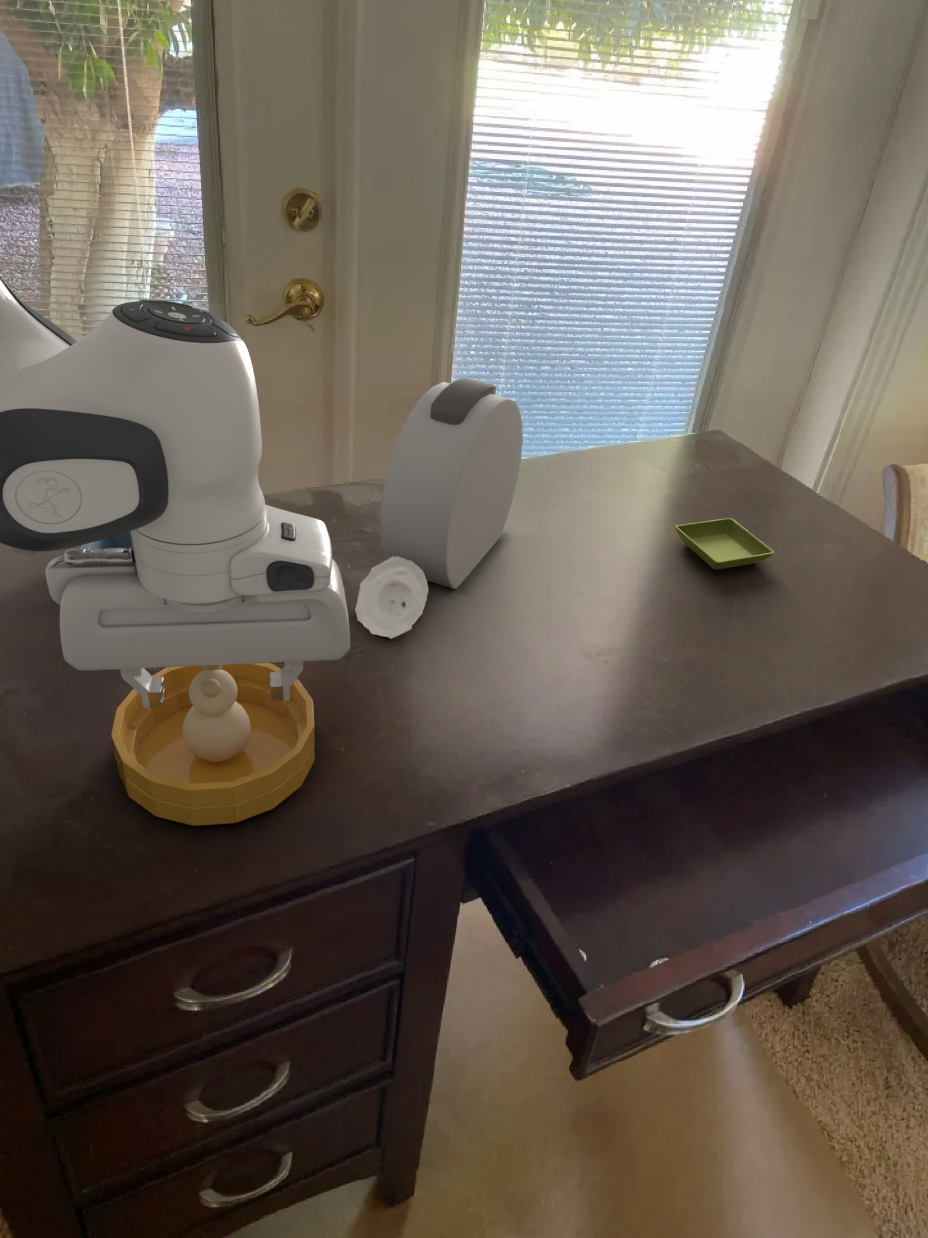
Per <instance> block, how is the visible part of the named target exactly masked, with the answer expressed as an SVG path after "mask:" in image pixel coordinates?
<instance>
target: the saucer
mask: <svg viewBox="0 0 928 1238" xmlns="http://www.w3.org/2000/svg"><path fill="white" fill-rule="evenodd" d="M674 528H675V530H676V532H677V534H678V537H679V538H680V540H681V541H682V542H683V543H684V545H686V546H687V547H688V548H689V549H690V550H691V551H693V552H694V553H695V554H696V555H697V556H698V557H699V558H701V560H703V561H704V562H705V563H706V564H707V565H709V566H710V568H712V569H713V570H715V571H716V570H723V569H730V568H735V567H736V568H737V567H741V566H746V565H753V564H757V563H760V562H762V561H765V560H766V559H768V558H770V557H772V556H773V555H774V554H775V551H774V550H773V549H772V548H771V547H770V546H768V545H767V544H765V542H763V541H762V540H761V539H759V538H757V537H756V536H755V535H754V534H753V533H752V532H750V531H749V530H748V529H746V528H745V527H744V526H743V525H741V524H740V523H739V522H738V521H736V520H735V519H733V518H731V517H726V518H725V517H724V518H719V519H711V520H705V521H699V522H692V523H691V522H689V523H682V524H677V525H675V526H674Z"/></svg>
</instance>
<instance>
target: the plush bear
mask: <svg viewBox="0 0 928 1238" xmlns="http://www.w3.org/2000/svg"><path fill="white" fill-rule="evenodd" d="M203 667H204V671H202V672H200V673H199V674H197V675H196V676H195V677H194V679H193V680H192V682H191V684H190V688H189V697H190V700H191V703H192V704H193V707H192V708H191V709H190V710H189V712H188V713H187V715H186V717H185V720H184V723H183V737H184V741H185V743H186V745H187V747H188V748H189V750H190V751H191V752H192V753H193V754H194V755H195V756H197V757H199V758H200V759H203V760H205V761H210V762H222V761H226V760H229V759H231V758H233V757H235V756H236V755H237V754H239V753H240V752H241V751H242V750H243V748H244V747H245V745H246V744H247V742H248V739H249V736H250V730H251V727H250V720H249V717H248V715H247V713H246V711H245V710H244V708H243V707H242V706H241V705H240V704H239V703H237V702H236V698H237V685H236V682H235V680H234V678H233V677H232V676H231V675H230V674H229V673H227V672H226V671H224V670H222V665H205V666H203Z"/></svg>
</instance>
